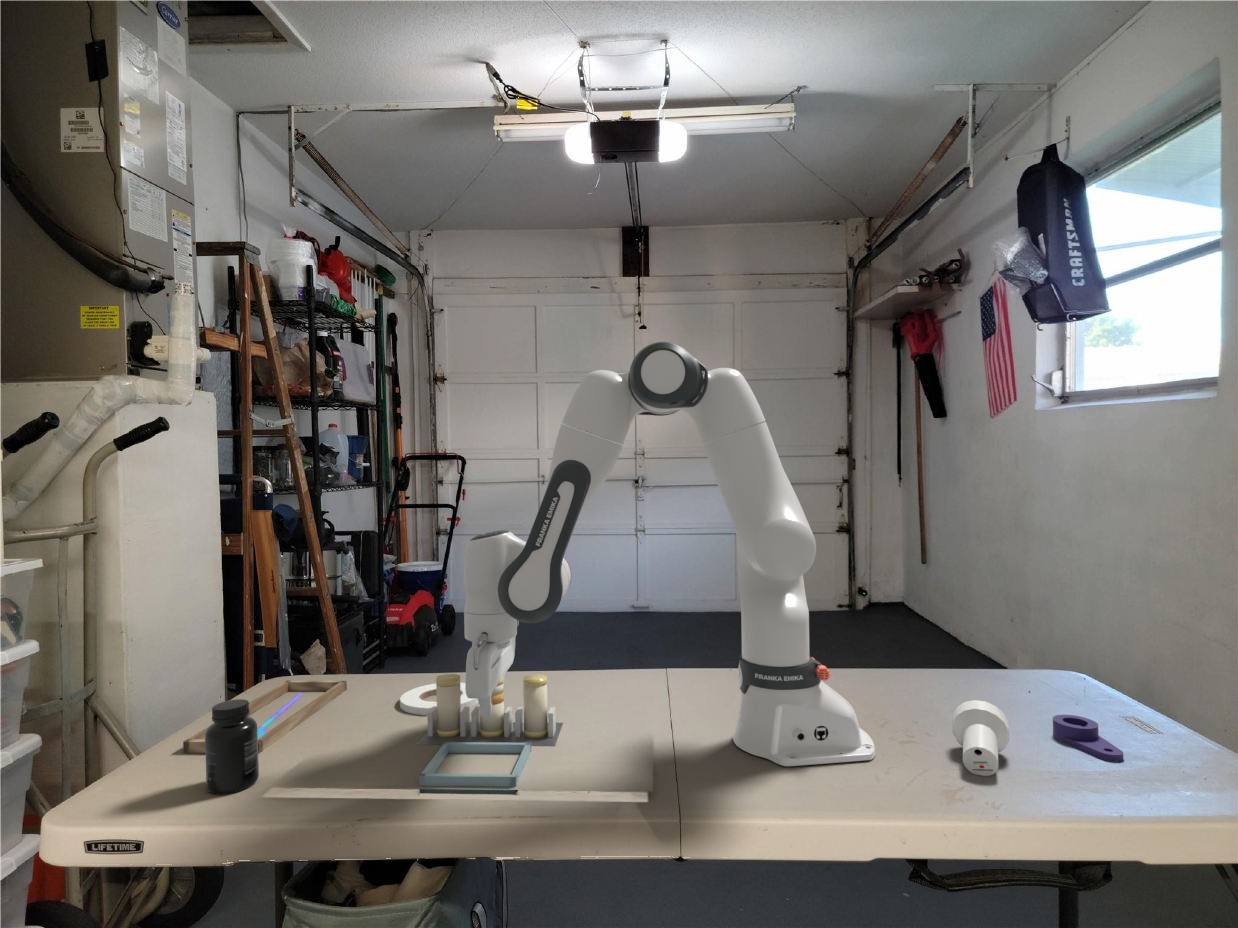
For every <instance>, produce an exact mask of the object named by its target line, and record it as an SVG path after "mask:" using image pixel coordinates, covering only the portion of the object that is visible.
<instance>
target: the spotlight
mask: <svg viewBox="0 0 1238 928" xmlns="http://www.w3.org/2000/svg"><path fill="white" fill-rule="evenodd" d="M1009 725H1010V724H1009V721H1008V719H1007V717H1006V715H1005V713H1004V712H1003V711H1002V710H1000V708H998V707H997V706H996V705H994V704H992V703H990V702H988V701H985V700H984V701H983V700H979V699H973V700H968V701H963V702H962V703H961V704H960V705H958V706H956V708H955V710H954V712H953V714H952V724H951V726H952V727H951V728H952V729H951V730H952V731H951V732H952V735H953V736H954V739H955V740H956V742H957V743H958V744H959V745H960V746H961V747H962V762H963V765H964V768H966V769H967V770H968V771H969V772H971V773H972V774H974V775H979V776H983V777H988V776H989V777H990V776H992V775H994V774H996V773H997V771H998V769H999V753H1000V752H1002V751H1004V750H1005V749H1006V748H1007V746H1008V744H1009V742H1010V726H1009Z"/></svg>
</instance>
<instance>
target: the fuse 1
mask: <svg viewBox="0 0 1238 928" xmlns="http://www.w3.org/2000/svg"><path fill="white" fill-rule="evenodd" d="M435 681H436V683H435V684H436V695H435V696H436V701H437V735H438V736H439V737H443V738H448V737H454V736H457V735H459V734H460V712H461V711H462V710H461V692H460V683H461V675H460V674H457V673H447V674H441V675H439V676H437V677H436V679H435Z"/></svg>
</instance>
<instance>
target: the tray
mask: <svg viewBox="0 0 1238 928" xmlns="http://www.w3.org/2000/svg"><path fill="white" fill-rule="evenodd" d="M531 752H532V746H531V743H503V742H445V743H444V744H443V745H441V747H440V748H439V749H438V751H437V752H436V754H435V755H434V756H433V757H432V758H431V759H430V761H429V762H428V764H427V765H426V767H424V769H423V770H422V771H421V773H420V774H419V776H418V778H419V779H418V780H419V781H418V782H419V783H418V784H419V786H431V787H432V786H433V787H435V786H440V787H441V786H442V787H444V786H445V787H446V786H447V787H455V786H456V787H515V788H516V787H517V785H518V783H519V780H520V778H521V775H522V774H523V771H524V769H525V767H526V765H527V762H528V760H529V757H530V755H531ZM449 753H455V754H456V753H457V754H458V753H460V754H463V753H467V754H473V753H474V754H475V753H476V754H477V753H478V754H520V755H519V758H518V759H517V762H516V764H515V766H514V768H513V770H512V772H511V774H508V773H507V774H506V773H505V774H504V773H502V774H501V773H435V772H436V771H437V770H438V769H439V766H440V765H441V763H443V761H444V760H445V758H446V757H447V755H448V754H449ZM518 791H519V790H518V789H485V788H484V789H477V788H476V789H472V788H466V789H464V788H459V789H457V788H454V789H453V788H419V791H418V792H419V794H436V795H437V794H441V795H444V794H445V795H448V794H449V795H452V794H453V795H511V796H512V795H517V793H518Z"/></svg>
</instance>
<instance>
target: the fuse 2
mask: <svg viewBox="0 0 1238 928" xmlns="http://www.w3.org/2000/svg"><path fill="white" fill-rule="evenodd" d="M522 682H523V687H522V688H523V721H524V736H526V737H528V738H541V737H544V736H546V735H547V734H548V676H547V675H546V674H540V673H538V674H537V673H533V674H528V675H525V676H524V677H523V678H522Z"/></svg>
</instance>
